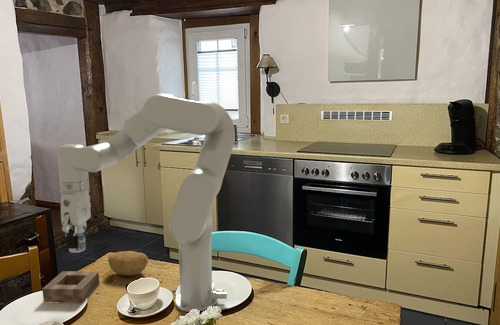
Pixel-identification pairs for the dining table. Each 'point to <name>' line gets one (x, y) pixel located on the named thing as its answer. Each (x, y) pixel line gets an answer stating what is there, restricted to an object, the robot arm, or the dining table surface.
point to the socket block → (71, 287)
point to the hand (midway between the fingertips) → (77, 243)
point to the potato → (128, 262)
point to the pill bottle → (79, 239)
